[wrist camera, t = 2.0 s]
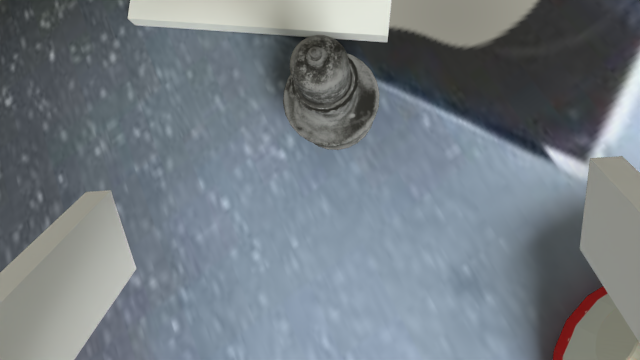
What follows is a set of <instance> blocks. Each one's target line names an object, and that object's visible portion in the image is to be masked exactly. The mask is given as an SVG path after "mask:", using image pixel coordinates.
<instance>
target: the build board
mask: <svg viewBox="0 0 640 360" xmlns="http://www.w3.org/2000/svg"><path fill="white" fill-rule="evenodd" d="M391 2H392V0H130V5H129V12H128V19H129V20H130V21H131V22H132V23H133V24H135V25H139V26H154V27H169V28H184V29H198V30H213V31H228V32H242V33H257V34H272V35H287V36H301V37H311V36H315V35H325V36H329V37H332V38H333V39H345V40H360V41H375V42H387V41H388V31H389V21H390V12H391Z"/></svg>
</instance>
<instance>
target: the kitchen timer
mask: <svg viewBox="0 0 640 360" xmlns="http://www.w3.org/2000/svg"><path fill="white" fill-rule="evenodd" d="M553 360H640V343H639V341H638V340H637V338H636V337H635V335H634V333H633V332H632V330H631V329H630V327H629V326H628V324H627V322H626V321H625V319H624V318H623V316H622V315H621V313H620V311H619V310H618V308H617V307H616V305H615V304H614V302H613V300H612V299H611V297H610V296H609V294H608V293H607V291H606V289H605V288H604V286H603V287H601V288H599V289H598V290H596V291H595V292H593V293H591V294H590V295H588V296H587V297H586V298H585V299H584V300H583V302H582V303H581V304H580V305H579V306H578V307H577V309H576V310H575V311H574V312H573V313H572V315H571V316H570V317H569V318H568V319H567V320H566V323H565V325H564V327H563V330H562V332H561V334H560V337H559V339H558V342H557V344H556V346H555V349H554V354H553Z"/></svg>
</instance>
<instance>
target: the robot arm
mask: <svg viewBox="0 0 640 360" xmlns="http://www.w3.org/2000/svg"><path fill="white" fill-rule="evenodd" d="M580 250H581V252H582V253H583V255H584V256H585V258H586V260H587V261H588V263H589V264H590V266H591V267H592V269H593V271H594V272H595V274H596V275H597V277H598V278H599V280H600V282H601V283H602V285H603V286H604V288H605V289H606V291H607V293H608V294H609V296H610V297H611V299H612V300H613V302H614V304H615V305H616V307H617V308H618V310H619V311H620V313H621V315H622V316H623V318H624V319H625V321H626V322H627V324H628V326H629V327H630V329H631V330H632V332H633V333H634V335H635V337H636V338H637V340H638V341H639V343H640V173H639V172H638V171H637V170H636V169H635V168H634V167H633V166H632V165H631V164H630V163H629V162H628V161H627V160H625V159H624V158H623V157H622V156H619V157H604V158H590V164H589V172H588V181H587V189H586V198H585V207H584V215H583V224H582V232H581V241H580ZM135 270H136V266H135V263H134V260H133V257H132V254H131V251H130V248H129V245H128V242H127V239H126V236H125V233H124V230H123V227H122V224H121V221H120V218H119V214H118V211H117V208H116V205H115V202H114V199H113V196H112V193H111V191H96V192H86V193H85V194H84V195H82V196H81V197H80V198H79V199H78V200H77V201H76V202H75V203H74V204H73V205H72V206H71V207H70V208H69V209H68V210H67V211H65V212H64V213H63V214H62V215H61V216H60V217H59V218H58V219H57V220H56V221H55V222H54V223H53V224H52V225H51V226H49V227H48V228H47V229H46V230H45V231H44V232H43V233H42V234H41V235H40V236H39V237H38V238H37V239H36V240H35V241H34V242H32V243H31V244H30V245H29V246H28V247H27V248H26V249H25V250H24V251H23V252H22V253H21V254H20V255H19V256H18V257H16V258H15V259H14V260H13V261H12V262H11V263H10V264H9V265H8V266H7V267H6V268H5V269H4V270H3V271H2V272H1V273H0V360H74V359H75V358H76V356H77V355H78V353H79V352H80V350H81V349H82V347H83V346H84V344H85V343H86V342H87V340H88V339H89V337H90V336H91V334H92V333H93V331H94V330H95V328H96V327H97V325H98V324H99V322H100V321H101V320H102V318H103V317H104V315H105V314H106V312H107V311H108V309H109V308H110V306H111V305H112V303H113V302H114V301H115V299H116V298H117V296H118V295H119V293H120V292H121V290H122V289H123V287H124V286H125V284H126V283H127V282H128V280H129V279H130V277H131V276H132V274H133V273H134V271H135Z"/></svg>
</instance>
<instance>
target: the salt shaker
mask: <svg viewBox="0 0 640 360" xmlns="http://www.w3.org/2000/svg"><path fill="white" fill-rule="evenodd" d="M290 72H291V75H290V77H289V78H288V80H287V83H286V86H285V89H284V99H283V104H284V109H285V114H286V116H287V118H288V120H289V122H290V124H291V126H292V127H293V128H294V129H295V130H296V132H297V133H298V134H299V135H300V136H302V137H303V138H305V139H307V140H308V141H310V142H313V143H314V144H316V145H317V146H319V147H322V148H325V149H332V150H339V149H344V148H349V147H350V146H352V145H354V144H356V143H358V142H359V141H360V140H361V139H362V138H364V137H365V136H366V134H367V133H368V131H369V130H370V128H371V126H372V123H373V120H374V119H375V116H376V113H377V110H378V107H379V90H378V85H377V81H376V79H375V77H374V75H373V73H372V72H371V70H370V69H369V68H368V67H367V66H366V65H365V64H364V63H363V62H362V61H361V60H359V59H358V58H356V57H354V56H353V55H350V54H347V53H346V51H345V49H344V47H343V46H342V45H341V44H340V43H339V42H338V41H337V40H335V39H333V38H332V37H329V36H325V35H315V36H311V37H308V38H306V39H304V40H302V41H301V42H300V43H299V44H298V45H297V46H296V47H295V49H294V50H293V52H292V55H291V58H290Z"/></svg>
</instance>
